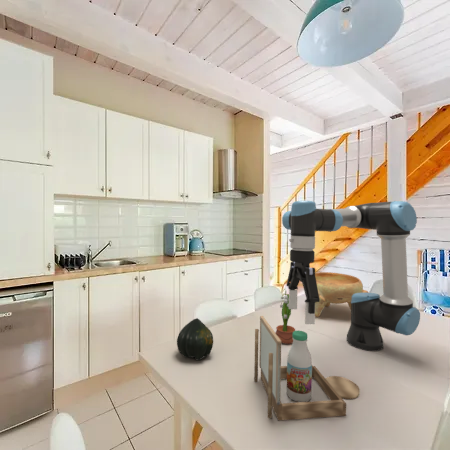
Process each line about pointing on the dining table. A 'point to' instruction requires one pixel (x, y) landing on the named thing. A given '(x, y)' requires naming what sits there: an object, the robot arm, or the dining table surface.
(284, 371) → the cold frame
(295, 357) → the milk bottle
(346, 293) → the decorative bowl
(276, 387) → the lid
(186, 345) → the squash
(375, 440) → the dining table surface
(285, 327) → the potted flower
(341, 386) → the disc
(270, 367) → the prop sticks
